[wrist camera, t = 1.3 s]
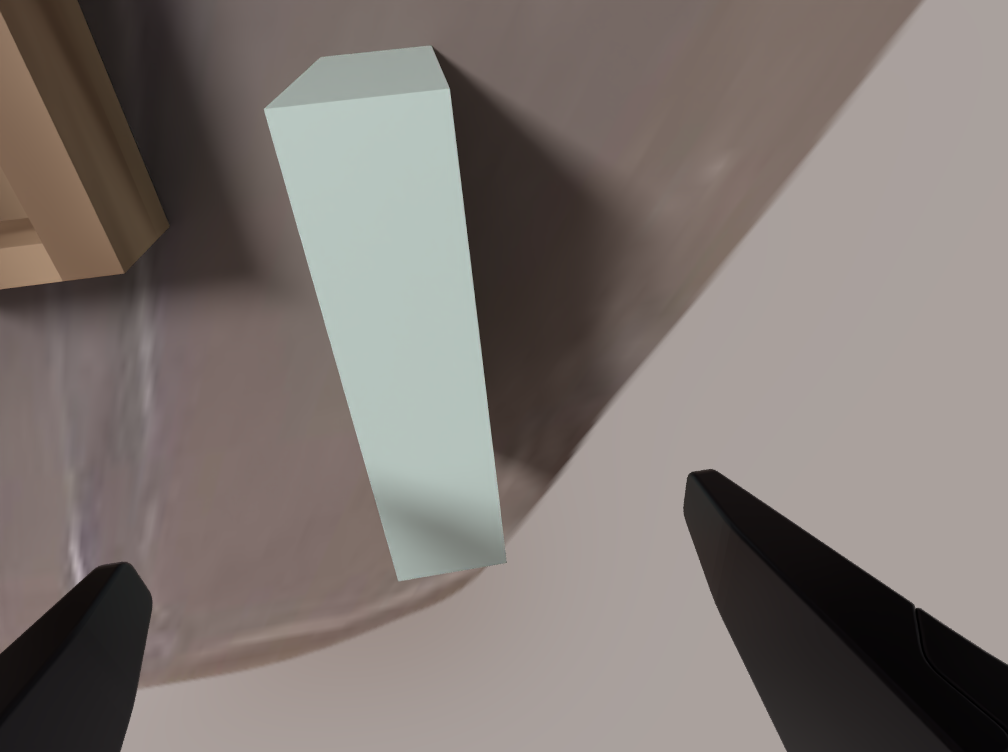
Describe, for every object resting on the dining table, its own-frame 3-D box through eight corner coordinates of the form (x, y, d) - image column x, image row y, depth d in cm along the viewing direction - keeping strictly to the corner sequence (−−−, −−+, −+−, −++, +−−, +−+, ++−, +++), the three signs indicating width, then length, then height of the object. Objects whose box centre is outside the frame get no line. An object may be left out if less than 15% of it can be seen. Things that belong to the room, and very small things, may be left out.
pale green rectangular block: (431, 44, 16) (449, 88, 10) (477, 396, 23) (506, 563, 16) (320, 56, 16) (264, 109, 10) (400, 407, 23) (398, 581, 16)
